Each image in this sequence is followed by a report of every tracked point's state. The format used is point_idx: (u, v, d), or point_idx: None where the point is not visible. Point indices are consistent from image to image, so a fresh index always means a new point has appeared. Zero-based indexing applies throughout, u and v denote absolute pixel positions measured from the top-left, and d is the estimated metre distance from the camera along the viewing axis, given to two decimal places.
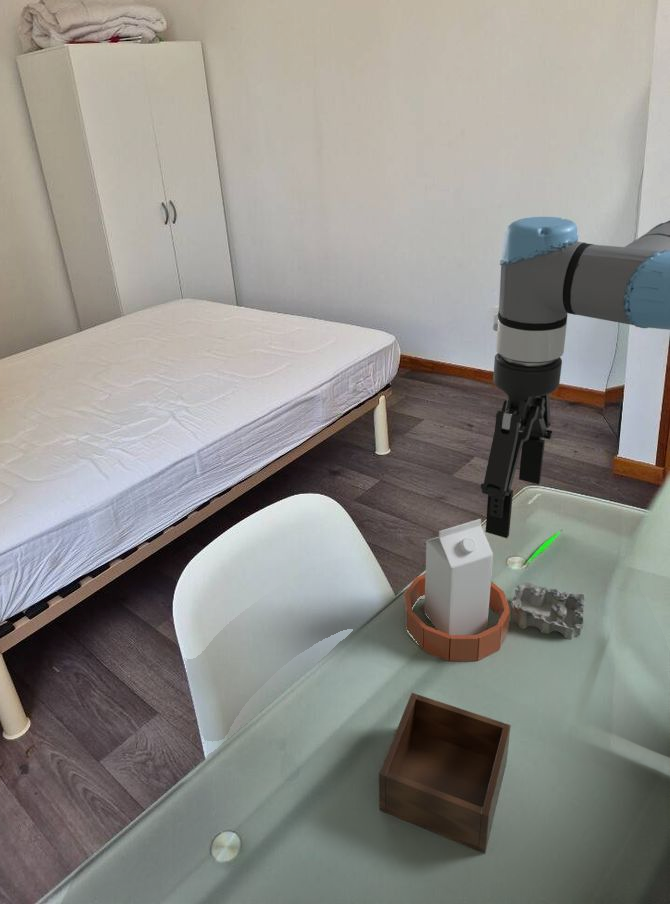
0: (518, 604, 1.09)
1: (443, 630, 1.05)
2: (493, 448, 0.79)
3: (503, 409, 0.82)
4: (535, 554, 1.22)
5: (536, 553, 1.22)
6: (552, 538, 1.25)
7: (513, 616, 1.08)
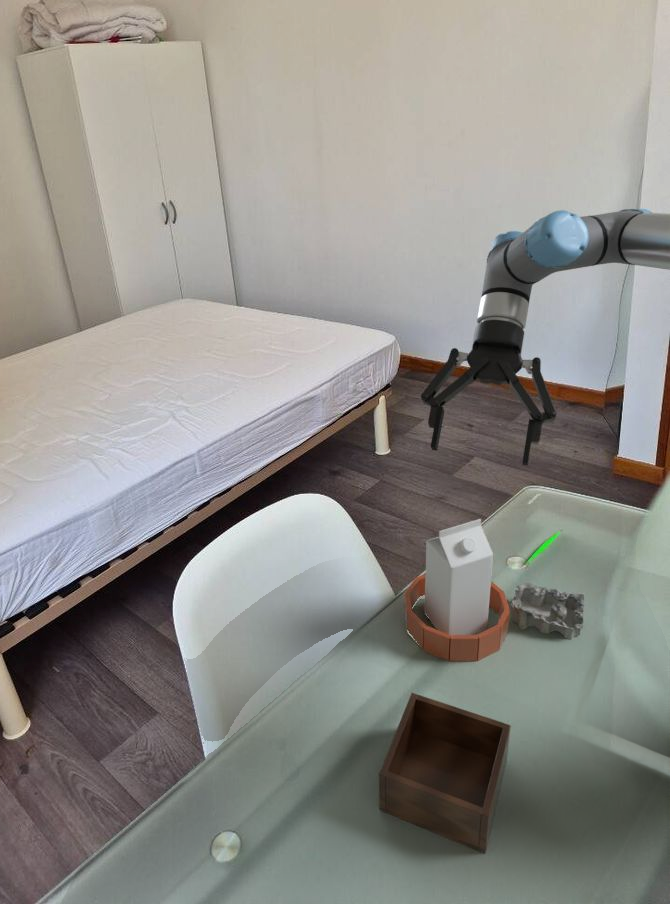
0: (518, 604, 1.09)
1: (443, 630, 1.05)
2: None
3: None
4: (535, 554, 1.22)
5: (536, 553, 1.22)
6: (552, 538, 1.25)
7: (513, 616, 1.08)
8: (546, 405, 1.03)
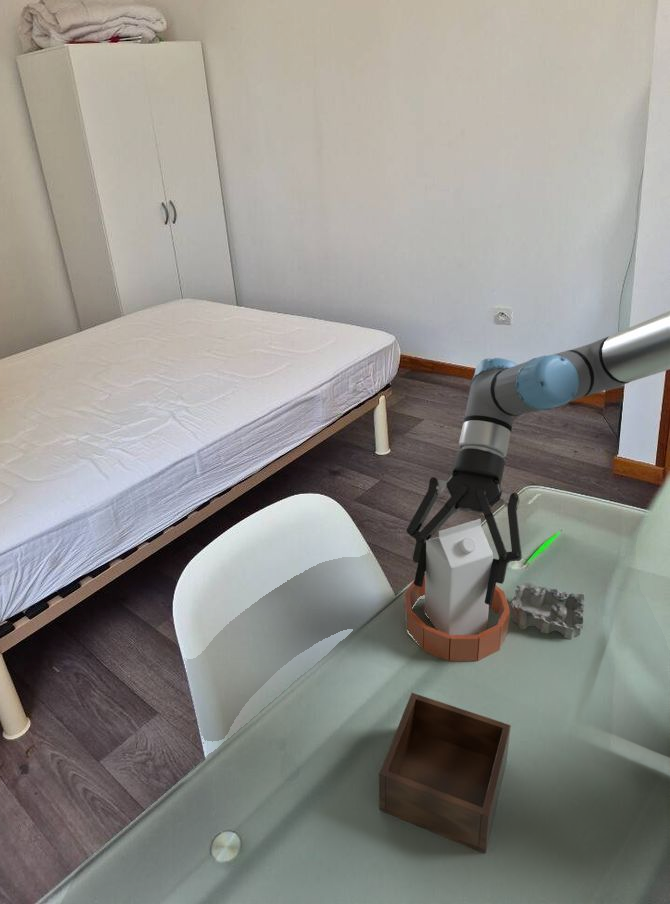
0: (518, 604, 1.09)
1: (443, 630, 1.05)
2: None
3: None
4: (535, 554, 1.22)
5: (536, 553, 1.22)
6: (552, 538, 1.25)
7: (513, 616, 1.08)
8: (512, 544, 1.01)
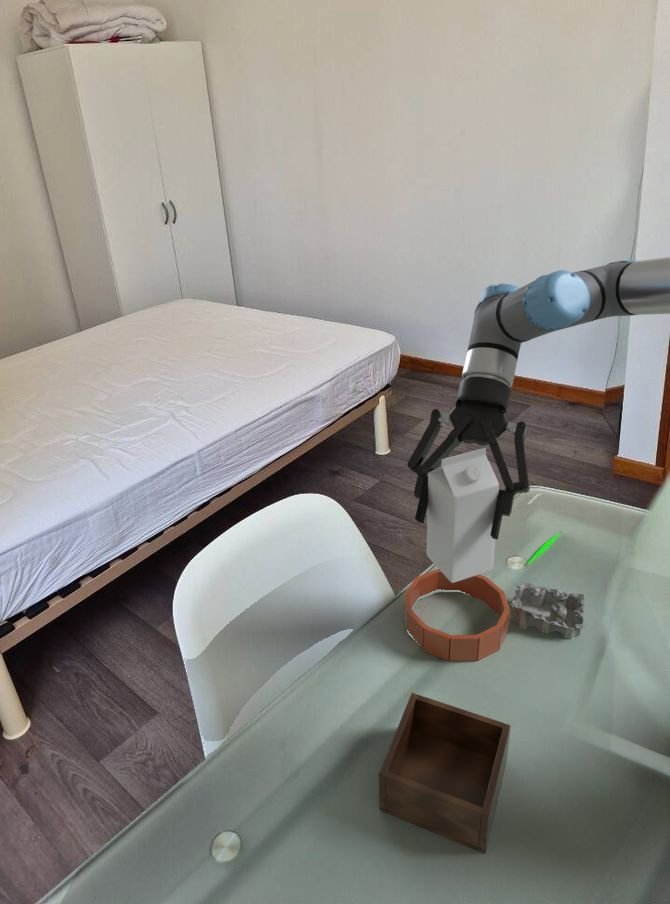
0: (518, 604, 1.09)
1: (446, 568, 0.99)
2: None
3: None
4: (535, 556, 1.22)
5: (536, 555, 1.22)
6: (552, 539, 1.25)
7: (513, 616, 1.08)
8: (520, 474, 0.95)
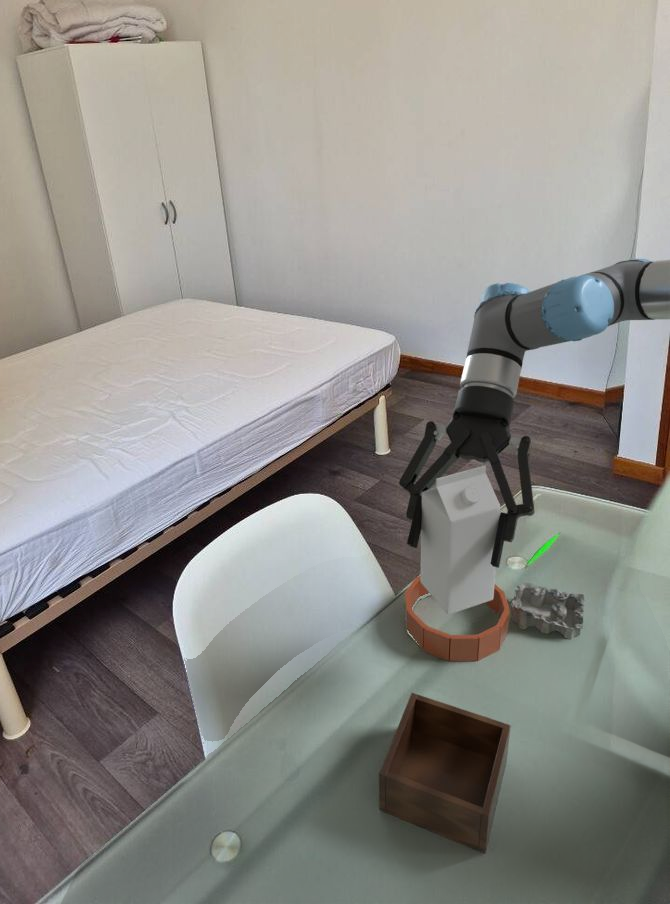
0: (518, 604, 1.09)
1: (442, 598, 0.90)
2: None
3: None
4: (535, 556, 1.22)
5: (536, 555, 1.22)
6: (551, 540, 1.26)
7: (513, 616, 1.08)
8: (524, 495, 0.86)
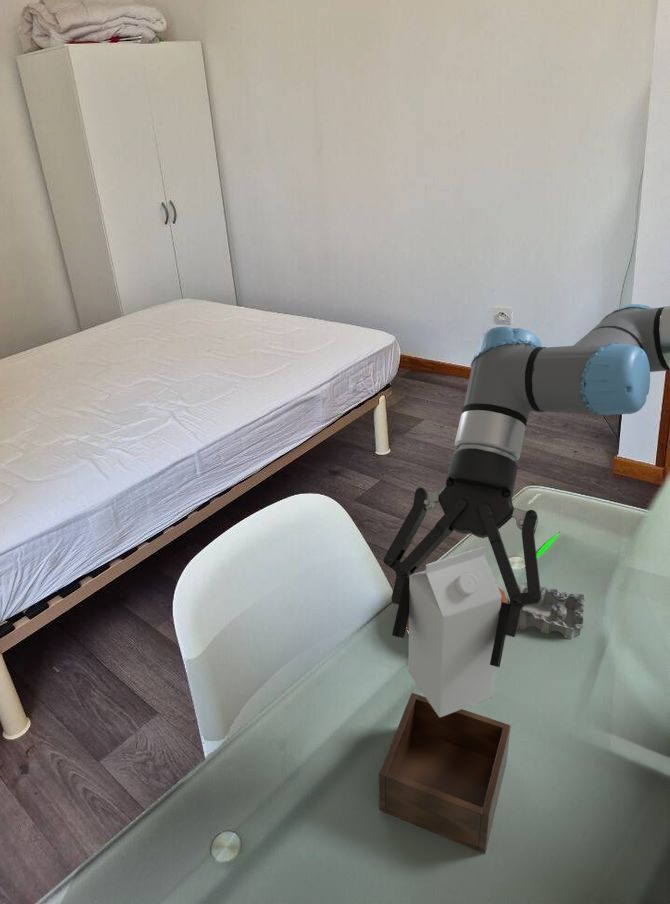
0: None
1: (433, 698, 0.77)
2: None
3: None
4: None
5: None
6: (551, 540, 1.26)
7: None
8: (529, 582, 0.73)
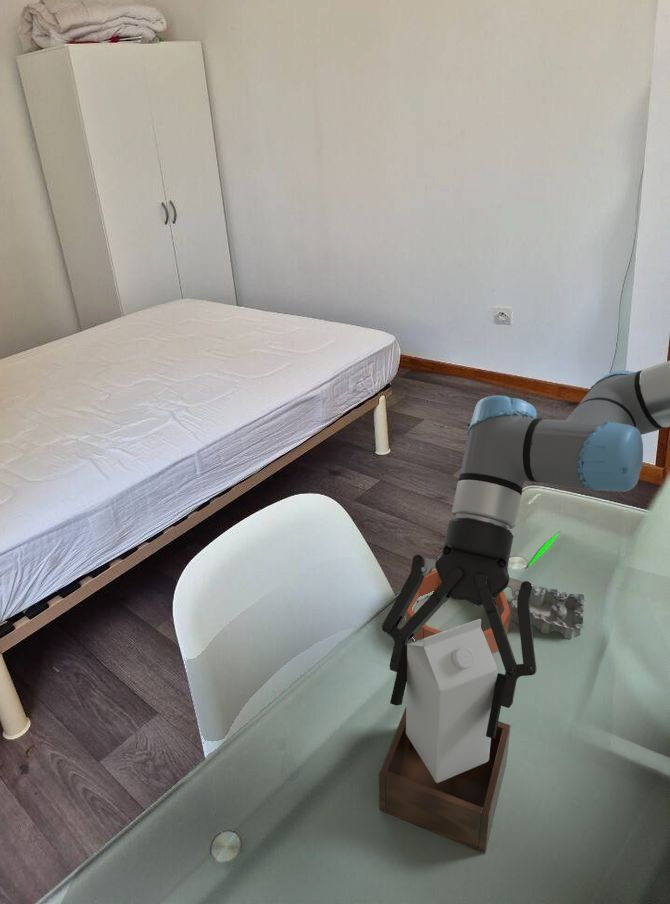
0: None
1: (430, 764, 0.78)
2: None
3: None
4: (536, 557, 1.22)
5: (537, 556, 1.22)
6: (551, 540, 1.26)
7: (513, 616, 1.08)
8: (524, 654, 0.74)
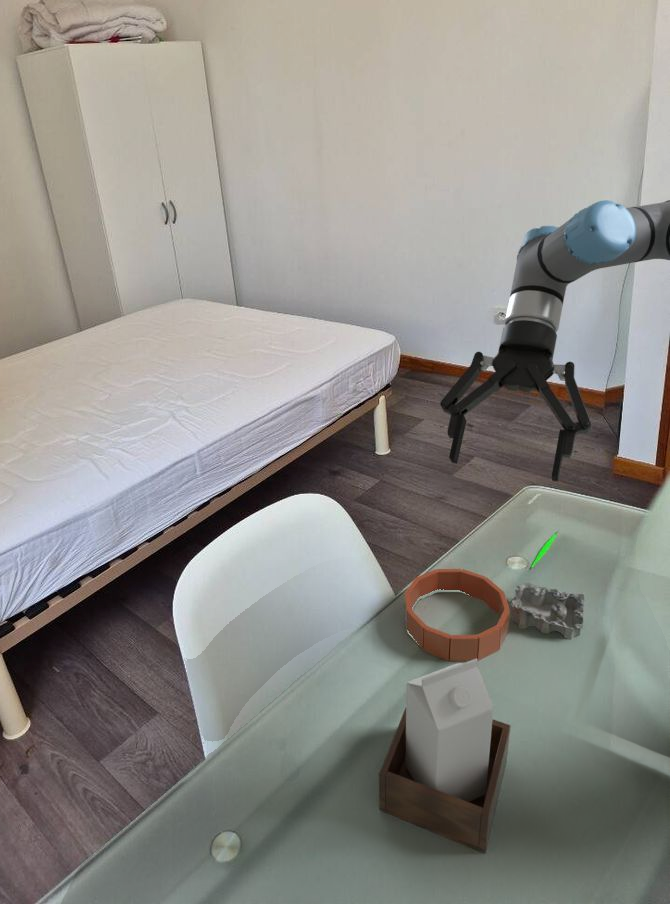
0: (518, 604, 1.09)
1: None
2: None
3: None
4: (538, 558, 1.22)
5: (539, 557, 1.22)
6: (551, 540, 1.26)
7: (513, 616, 1.08)
8: (580, 414, 0.92)
